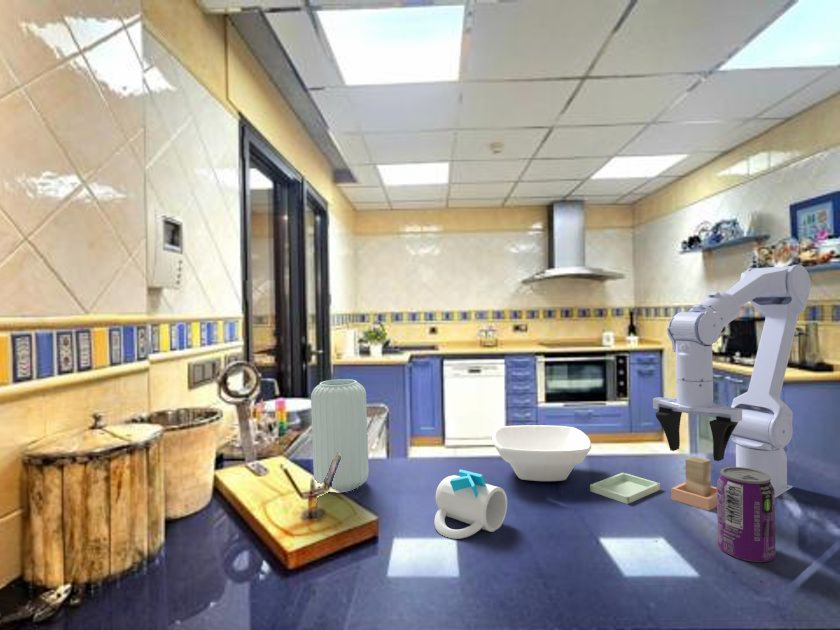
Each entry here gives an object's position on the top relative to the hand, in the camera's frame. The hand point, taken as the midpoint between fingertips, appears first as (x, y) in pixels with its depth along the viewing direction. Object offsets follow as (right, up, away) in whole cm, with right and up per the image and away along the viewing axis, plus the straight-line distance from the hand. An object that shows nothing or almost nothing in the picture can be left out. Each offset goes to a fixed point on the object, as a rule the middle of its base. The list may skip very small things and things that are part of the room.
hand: (695, 454), depth 88 cm
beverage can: (-1, -11, -16) cm, 19 cm away
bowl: (-23, -10, +19) cm, 32 cm away
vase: (-66, -12, +16) cm, 69 cm away
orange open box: (+2, -10, +2) cm, 10 cm away
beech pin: (+2, -9, +2) cm, 10 cm away
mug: (-42, -12, -3) cm, 44 cm away
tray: (-9, -10, +8) cm, 16 cm away
